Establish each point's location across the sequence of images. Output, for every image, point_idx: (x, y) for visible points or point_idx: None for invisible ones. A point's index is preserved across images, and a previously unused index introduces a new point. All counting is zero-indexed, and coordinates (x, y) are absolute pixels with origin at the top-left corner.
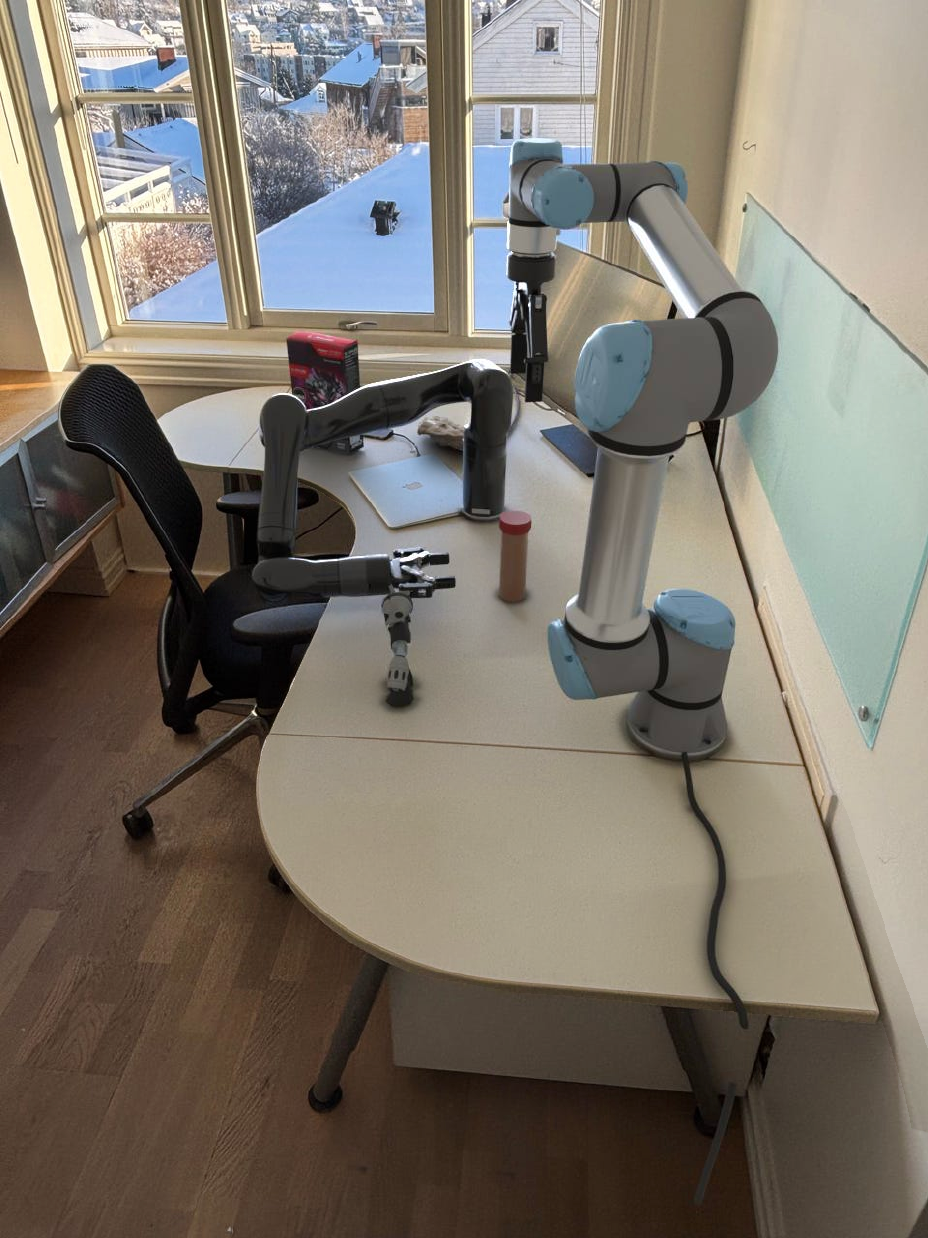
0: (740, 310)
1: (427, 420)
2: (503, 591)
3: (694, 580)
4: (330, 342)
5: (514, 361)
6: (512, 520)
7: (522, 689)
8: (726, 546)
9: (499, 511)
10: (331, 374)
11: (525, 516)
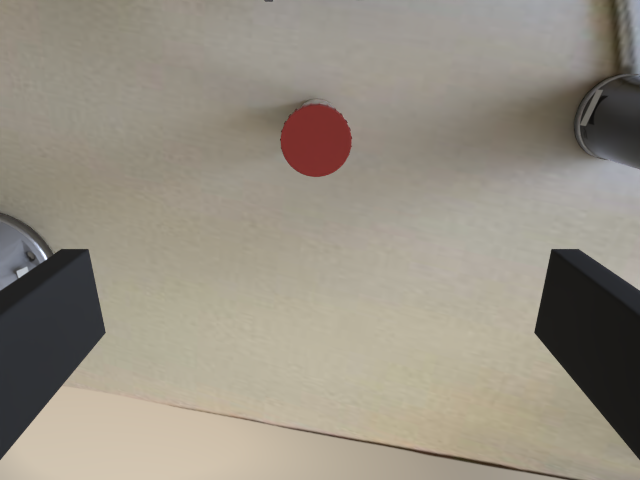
0: None
1: None
2: (303, 104)
3: (325, 378)
4: None
5: (592, 305)
6: (302, 132)
7: (63, 90)
8: (404, 437)
9: (587, 146)
10: None
11: (317, 165)
